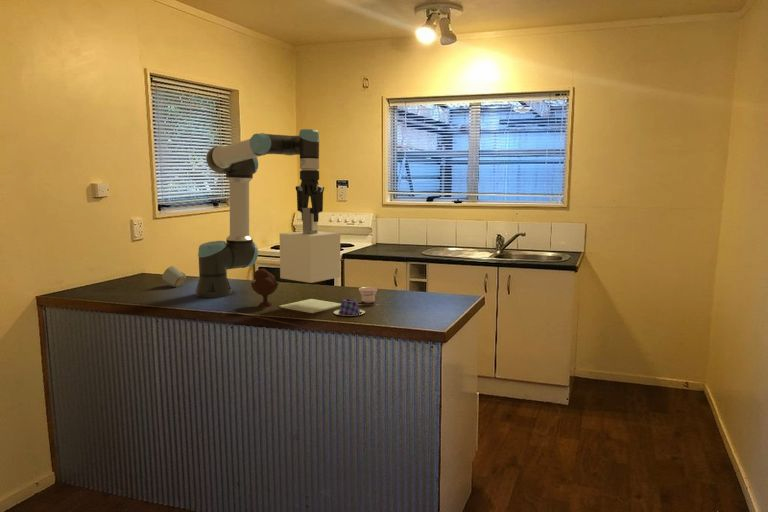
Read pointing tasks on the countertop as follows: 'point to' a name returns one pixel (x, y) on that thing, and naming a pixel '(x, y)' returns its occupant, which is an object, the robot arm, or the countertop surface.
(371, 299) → the teacup
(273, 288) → the ice cream bowl
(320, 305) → the mat
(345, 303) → the pudding
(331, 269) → the cover
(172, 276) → the ceramic mug
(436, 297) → the countertop surface
